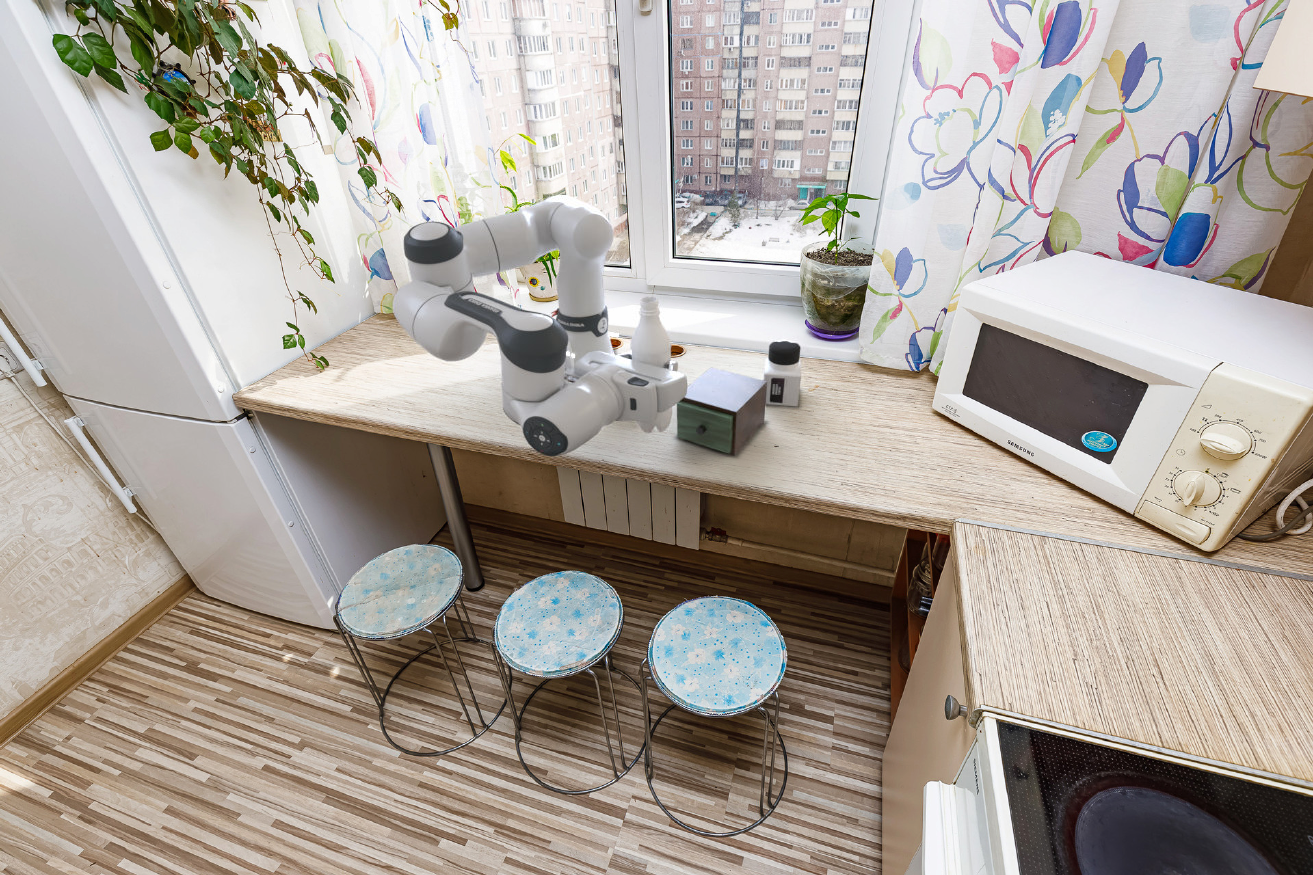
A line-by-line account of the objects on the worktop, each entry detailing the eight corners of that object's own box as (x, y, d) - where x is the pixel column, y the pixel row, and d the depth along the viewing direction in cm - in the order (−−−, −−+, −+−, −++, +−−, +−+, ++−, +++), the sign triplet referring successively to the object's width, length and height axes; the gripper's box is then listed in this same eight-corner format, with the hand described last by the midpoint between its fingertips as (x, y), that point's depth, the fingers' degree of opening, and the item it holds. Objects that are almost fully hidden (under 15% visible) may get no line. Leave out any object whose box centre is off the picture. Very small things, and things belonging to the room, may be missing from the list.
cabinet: (734, 455, 116) (736, 412, 111) (677, 437, 122) (677, 395, 117) (764, 422, 126) (767, 381, 120) (710, 407, 132) (711, 367, 126)
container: (797, 407, 130) (803, 352, 123) (761, 404, 132) (765, 350, 125) (797, 390, 137) (803, 337, 130) (763, 387, 138) (767, 335, 131)
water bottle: (654, 412, 118) (649, 289, 105) (680, 425, 114) (679, 299, 100) (627, 426, 114) (618, 300, 101) (653, 440, 110) (648, 310, 96)
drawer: (726, 457, 114) (727, 421, 110) (674, 440, 120) (673, 405, 115) (757, 423, 124) (759, 389, 119) (707, 409, 129) (707, 376, 125)
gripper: (561, 393, 104) (609, 362, 114) (660, 425, 95) (703, 388, 104) (557, 360, 101) (606, 331, 111) (659, 390, 91) (703, 355, 101)
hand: (654, 359), depth 107 cm, fingers closed on water bottle, 7 cm apart
